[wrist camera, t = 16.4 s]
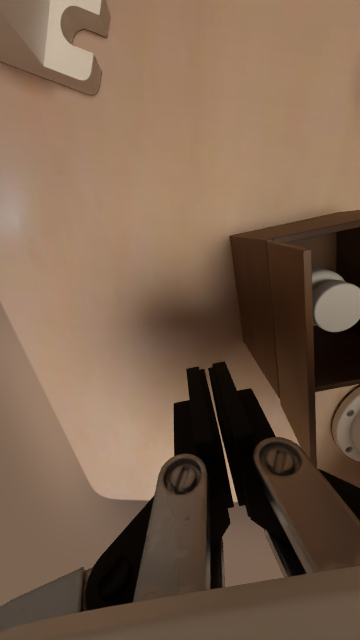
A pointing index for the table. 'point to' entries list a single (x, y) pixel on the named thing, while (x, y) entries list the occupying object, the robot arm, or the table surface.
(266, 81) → the table surface
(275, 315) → the flap
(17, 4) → the cable organizer
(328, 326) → the pill bottle
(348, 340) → the brown open box
